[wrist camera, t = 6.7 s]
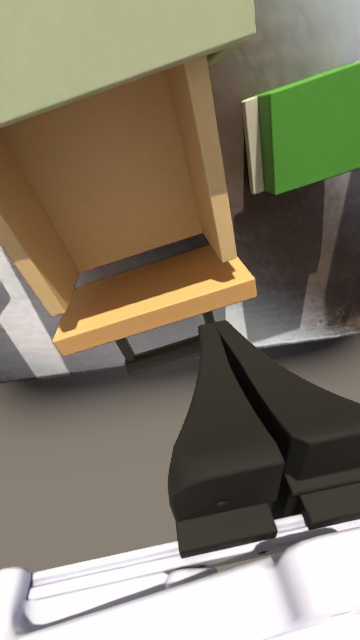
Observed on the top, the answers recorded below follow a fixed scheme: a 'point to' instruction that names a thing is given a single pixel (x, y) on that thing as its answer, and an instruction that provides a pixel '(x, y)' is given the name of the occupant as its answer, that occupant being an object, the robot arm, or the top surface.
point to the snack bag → (303, 131)
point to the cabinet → (105, 45)
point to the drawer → (123, 212)
